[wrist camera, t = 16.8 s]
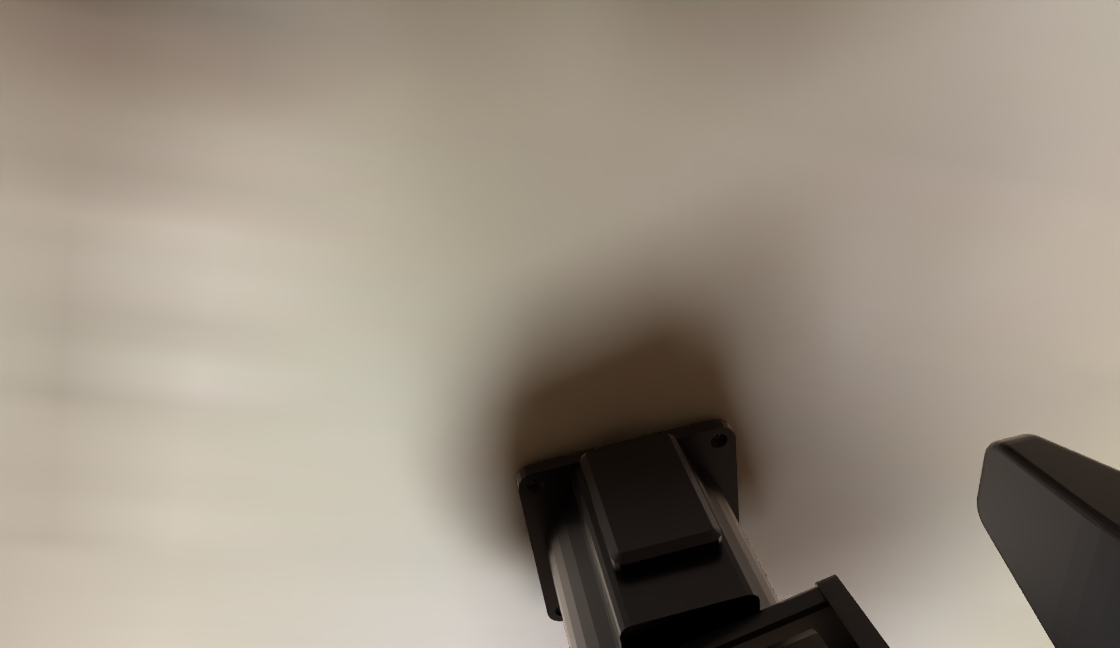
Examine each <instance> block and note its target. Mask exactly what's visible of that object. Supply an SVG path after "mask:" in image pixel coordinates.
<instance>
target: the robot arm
mask: <svg viewBox="0 0 1120 648" xmlns="http://www.w3.org/2000/svg"><path fill="white" fill-rule="evenodd" d="M718 434H721V436H720V437H719V438H716V439H712V438H713V437H714V436H716V435H718ZM532 480H540V481H539V482H537V483H535V484H530V483H529V482H530V481H532ZM517 486H518V490H519V495H520V499H521V503H522V507H523V511H524V516H525V520H526V524H527V528H528V533H529V537H530V541H531V545H532V550H533V554H534V558H535V562H536V566H537V571H538V575H539V579H540V583H541V588H542V592H543V596H544V600H545V604H546V609H547V613H548V616H549V617H550V618H551V619H552V620H555V621H563V622H564V626H565V630H566V635H567V639H568V643H569V647H570V648H890V647H889V646H888V645H887V643H886V642H885V641H884V639H883V638H882V637H881V635H880V634H879V633H878V631H877V630H876V628H875V627H874V626H873V624H872V623H871V622H870V620H869V619H868V618H867V616H866V615H865V614H864V612H863V611H862V609H861V608H860V607H859V605H858V604H857V603H856V601H855V600H854V599H853V597H852V596H851V595H850V593H849V592H848V591H847V589H846V588H845V586H844V585H843V584H842V582H841V581H840V580H839V578H838V577H837V576H836V575H833V576H830V577H828V578H826V579H823V580H821V581H818V582H816V583H815V585H816V587H814V588H812V589H809V590H807V591H805V592H802V593H800V594H798V595H795V596H793V597H791V598H788V599H786V600H783V601H781V602H779V600H778V598H777V596H776V594H775V592H774V590H773V588H772V586H771V584H770V583H769V581H768V579H767V577H766V575H765V573H764V571H763V569H762V567H761V565H760V563H759V561H758V559H757V558H756V556H755V554H754V552H753V550H752V548H751V546H750V544H749V542H748V540H747V538H746V536H745V534H744V533H743V531H742V529H741V527H740V525H739V510H738V487H737V463H736V439H735V434H734V432H733V430H732V428H731V427H730V425H729V424H728V423H727V422H726V421H725V420H721V419H715V420H710V421H706V422H702V423H698V424H694V425H689V426H685V427H681V428H677V429H673V430H669V431H665V432H661V433H657V434H653V435H648V436H644V437H640V438H636V439H632V440H628V441H624V442H620V443H616V444H612V445H608V446H603V447H599V448H595V449H591V450H587V451H583V452H579V453H575V454H571V455H567V456H562V457H558V458H554V459H550V460H546V461H542V462H538V463H534V464H530V465H528V466H525V467H523V468H522V469H521V470H520V471H519V473H518V474H517ZM977 508H978V513H979V516H980V519H981V521H982V523H983V525H984V527H985V529H986V531H987V532H988V534H989V536H990V538H991V539H992V541H993V543H994V544H995V546H996V548H997V550H998V551H999V553H1000V555H1001V556H1002V558H1003V560H1004V561H1005V563H1006V565H1007V567H1008V568H1009V570H1010V572H1011V573H1012V575H1013V577H1014V579H1015V580H1016V582H1017V584H1018V585H1019V587H1020V589H1021V590H1022V592H1023V594H1024V596H1025V597H1026V599H1027V601H1028V602H1029V604H1030V606H1031V608H1032V609H1033V611H1034V613H1035V614H1036V616H1037V618H1038V619H1039V621H1040V623H1041V625H1042V626H1043V628H1044V630H1045V631H1046V633H1047V635H1048V637H1049V638H1050V640H1051V641H1052V643H1053V645H1054V646H1055V648H1120V471H1119V470H1117V469H1114V468H1112V467H1110V466H1107V465H1105V464H1103V463H1100V462H1098V461H1096V460H1093V459H1091V458H1089V457H1086V456H1084V455H1081V454H1079V453H1077V452H1074V451H1072V450H1070V449H1067V448H1065V447H1063V446H1060V445H1058V444H1056V443H1053V442H1051V441H1049V440H1046V439H1044V438H1042V437H1039V436H1036V435H1032V434H1023V435H1018V436H1014V437H1010V438H1006V439H1002V440H998V441H995V442H993V443H991V444H990V445H989V446H988V448H987V449H986V451H985V455H984V461H983V467H982V473H981V478H980V484H979V490H978V496H977Z"/></svg>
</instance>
